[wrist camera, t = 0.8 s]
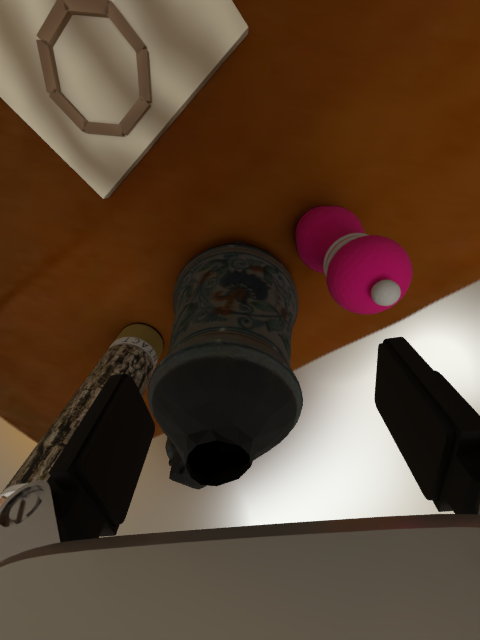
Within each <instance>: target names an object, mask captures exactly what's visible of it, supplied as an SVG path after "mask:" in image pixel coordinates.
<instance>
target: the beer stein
mask: <svg viewBox="0 0 480 640" xmlns="http://www.w3.org/2000/svg"><path fill="white" fill-rule="evenodd" d="M173 308H174V313H175V319H174V323H173V329H172V335H171V341H170V347H169V353H168V354H167V355H166V356H165V358H164V359H163V360H162V361H161V362H160V363H159V365H158V366H157V368H156V369H155V371H154V373H153V375H152V377H151V379H150V382H149V386H148V401H149V406H150V409H151V412H152V414H153V416H154V418H155V419H156V421H157V422H158V424H159V426H160V427H161V429H162V430H163V432H164V433H165V434H166V435H167V442H166V452H167V455H168V457H169V459H170V460H169V465H170V466H171V471H170V477H169V478H170V479H171V480H173V481H175V482H178V483H181V484H183V485H186V486H189V487H191V488H195V489H201V488H203V487H205V486H207V485H209V486H218V485H222V484H224V483H228V482H231V481H234V480H237V479H239V478H240V476H242V475H243V474H244V473H245V472H246V471H247V470H248V469H249V468H250V467H251V465H252V462H253V460H255V459H256V458H258V457H259V456H261V455H263V454H264V453H266V452H267V451H269V450H270V449H272V448H273V447H274V446H276V445H277V444H279V443H280V442H281V441H282V440H283V439H284V438H285V437H286V436H287V435H288V434H289V432H290V431H291V430H292V429H293V428H294V426H295V425H296V423H297V421H298V419H299V416H300V413H301V409H302V406H303V397H302V392H301V388H300V385H299V382H298V380H297V378H296V376H295V375H294V373H293V371H292V369H291V368H290V353H291V332H292V327H293V325H294V323H295V320H296V317H297V312H298V294H297V290H296V286H295V283H294V281H293V279H292V277H291V275H290V273H289V272H288V271H287V269H286V268H285V267H284V266H283V265H282V263H280V262H279V261H278V260H277V259H275V258H274V257H273V256H272V255H271V254H269V253H268V252H267V251H265V250H263V249H260V248H257V247H254V246H252V245H249V244H246V243H244V242H241V241H237V242H233V243H229V244H226V245H222V246H218V247H214V248H210V249H208V250H207V251H205V252H203V253H201V254H199V255H198V256H196V257H195V258H193V259H192V260H191V261H190V262H189V263H188V264H187V265H186V266H185V267H184V269H183V270H182V271H181V273H180V275H179V276H178V279H177V282H176V284H175V288H174V292H173Z"/></svg>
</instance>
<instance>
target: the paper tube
mask: <svg viewBox="0 0 480 640" xmlns="http://www.w3.org/2000/svg"><path fill="white" fill-rule="evenodd" d="M162 350H163V341H162V338H161V337H160V335H159V334H158V333H157V332H156V331H155V330H154V329H153V328H151V327H149V326H146V325H142V324H133V325H129V326H127V327H126V328H124V329H123V330H122V331H121V333H120V334H119V335H118V337H117V338H116V339H115V341H114V342H113V343H112V345H111V346H110V347H109V349H108V350H107V351H106V353H105V354H104V355H103V357H102V358H101V359H100V361H99V362H98V363H97V365H96V366H95V367H94V369H93V370H92V372H91V373H90V374H89V376H88V377H87V378H86V380H85V381H84V382H83V384H82V385H81V386H80V388H79V389H78V390H77V392H76V393H75V394H74V396H73V397H72V399H71V400H70V401H69V403H68V404H67V405H66V407H65V408H64V409H63V411H62V412H61V413H60V415H59V416H58V417H57V419H56V420H55V422H54V423H53V424H52V426H51V427H50V428H49V430H48V431H47V432H46V434H45V435H44V436H43V438H42V439H41V440H40V442H39V443H38V444H37V446H36V447H35V449H34V450H33V451H32V453H31V454H30V455H29V457H28V458H27V459H26V461H25V462H24V463H23V465H22V466H21V468H20V469H19V470H18V471H17V473H16V474H15V476H14V477H13V478H12V480H11V481H10V482H9V484H8V485H7V486H6V488H5V489H4V490H3V492H2V493H1V495H0V506H1V505H2V504H3V502H4V501H5V500H6V499H7V498H8V497H9V496H10V495H11V494H12V493H14V492H15V491H16V490H18V489H19V488H20V487H22V486H24V485H26V484H28V483H30V482H33V481H37V480H44V481H47V480H48V478H49V477H50V474H49V473H48V472H49V471H50V469H51V468H52V466H53V464H54V463H55V461H56V460H57V458H58V457H59V455H60V454H61V452H62V450H63V449H64V447H65V446H66V444H67V443H68V441H69V439H70V438H71V436H72V435H73V433H74V432H75V430H76V428H77V427H78V425H79V424H80V422H81V421H82V419H83V417H84V416H85V414H86V413H87V411H88V410H89V408H90V407H91V405H92V403H93V402H94V400H95V399H96V397H97V396H98V394H99V392H100V391H101V389H102V388H103V386H104V385H105V383H106V381H107V380H108V378H109V377H110V376H112V375H117V374H128V375H129V377H130V376H131V377H133V379H134V381H135V383H136V385H137V387H138V389H139V391H140V394H141V396H143V394H144V391H145V389H146V387H147V385H148V382H149V380H150V378H151V376H152V373H153V371H154V369H155V367H156V364H157V362H158V359H159V357H160V355H161V353H162Z"/></svg>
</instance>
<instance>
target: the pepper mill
mask: <svg viewBox="0 0 480 640" xmlns="http://www.w3.org/2000/svg"><path fill="white" fill-rule="evenodd" d="M295 238H296V246H297V251H298V254H299V256H300V258H301V260H302V261H303V262H304V263H305V264H306V265H307V266H308V267H310V268H311V269H313V270H315V271H317V272H321V273H325V276H326V277H327V286H328V289H329V292H330V294H331V296H332V297H333V299H334V300H335V301H336V302H337V303H338V304H339V305H340V306H342V307H343V308H345V309H347V310H349V311H351V312H354V313H358V314H375V313H379V312H382V311H384V310H387V309H389V308H390V307H392V306H394V305H395V304H396V303H397V302H398V301H400V299H401V298H402V297H403V296H404V295H405V293H406V292H407V290H408V288H409V285H410V283H411V279H412V265H411V261H410V259H409V256H408V254H407V253H406V252H405V250H404V249H403V248H402V247H401V246H400V245H399V244H398V243H396V242H395V241H393V240H391V239H389V238H386V237H382V236H378V235H367V234H364V230H363V227H362V224H361V222H360V221H359V219H358V218H357V217H356V216H355V215H354V214H353V213H352V212H350V211H349V210H348V209H345V208H343V207H339V206H319V207H315V208H313V209H311V210H309V211H308V212H306V213H305V214H304V215H303V216H302V218H301V219H300V221H299V222H298V224H297V227H296V233H295Z"/></svg>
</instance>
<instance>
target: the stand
mask: <svg viewBox="0 0 480 640" xmlns="http://www.w3.org/2000/svg"><path fill="white" fill-rule="evenodd" d="M247 35H248V26H247V24H246V22H245V21H244V19H243V18H242V16H241V14H240V13H239V11H238V10H237V8H236V6H235V5H234V3H233V2H232V0H0V97H1V98H2V99H3V100H4V101H5V102H6V103H7V104H8V105H9V106H10V107H11V108H12V109H13V110H14V111H15V112H16V113H17V114H18V115H19V116H20V117H21V118H22V119H23V120H24V121H25V122H26V123H27V124H28V125H29V126H30V127H31V128H32V129H33V130H34V131H35V132H36V133H37V134H38V135H39V136H40V137H41V138H42V139H43V140H44V141H45V142H46V143H47V144H48V145H49V146H50V147H51V148H52V149H53V150H54V151H55V152H56V153H57V154H58V155H59V156H60V157H61V158H62V159H63V160H64V161H65V162H67V163H68V164H69V165H70V166H71V167H72V168H73V169H74V170H75V171H76V172H77V173H78V174H79V175H80V176H81V177H82V178H83V179H84V180H85V181H86V182H87V183H88V184H89V185H90V186H91V187H92V188H93V189H94V190H95V191H96V192H97V193H98V194H99V195H100V196H101V197H102V198H103V199H105V198H109V197H110V196H111V194H112V193H113V192H114V191H115V190H116V189H117V187H118V186H119V185H120V184H121V183H122V181H123V180H124V179H125V178H126V177H127V176H128V174H129V173H130V172H131V171H132V170H133V169H134V167H135V166H136V165H137V164H138V163H139V162H140V160H141V159H142V158H143V157H144V156H145V154H146V153H147V152H148V151H149V150H150V149H151V147H152V146H153V145H154V144H155V143H156V142H157V140H158V139H159V138H160V137H161V136H162V134H163V133H164V132H165V131H166V130H167V129H168V127H169V126H170V125H171V124H172V123H173V122H174V120H175V119H176V118H177V117H178V116H179V115H180V113H181V112H182V111H183V110H184V109H185V107H186V106H187V105H188V104H189V103H190V102H191V100H192V99H193V98H194V97H195V96H196V95H197V93H198V92H199V91H200V90H201V89H202V87H203V86H204V85H205V84H206V83H207V82H208V80H209V79H210V78H211V77H212V76H213V75H214V73H215V72H216V71H217V70H218V69H219V68H220V66H221V65H222V64H223V63H224V62H225V60H226V59H227V58H228V57H229V56H230V55H231V53H232V52H233V51H234V50H235V49H236V48H237V46H238V45H239V44H240V43H241V42H242V40H243V39H244V38H245V37H246V36H247Z"/></svg>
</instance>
